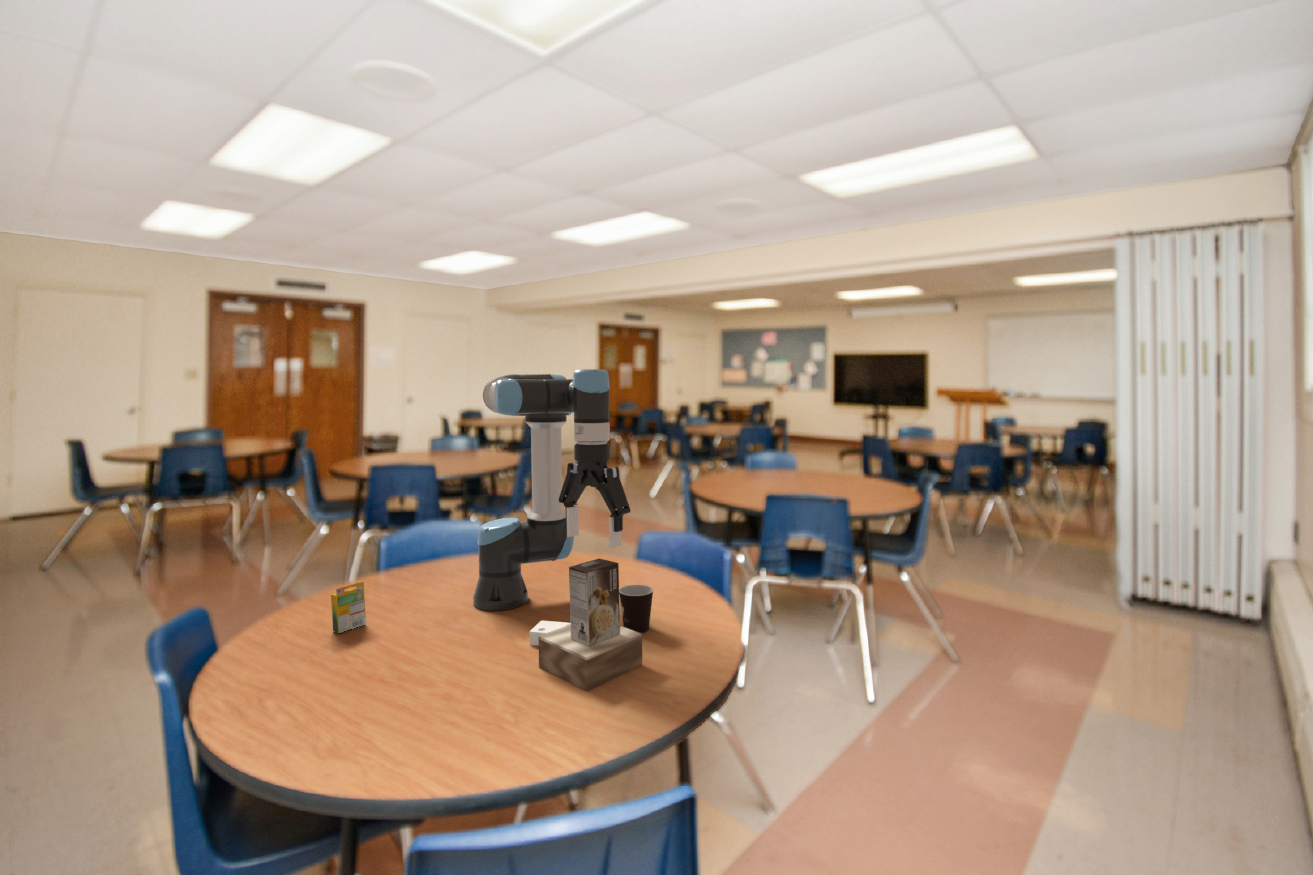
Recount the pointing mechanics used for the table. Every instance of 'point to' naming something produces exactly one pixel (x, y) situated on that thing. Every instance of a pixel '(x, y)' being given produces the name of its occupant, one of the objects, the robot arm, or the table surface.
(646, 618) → the coffee mug
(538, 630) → the bracket
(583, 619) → the coffee box
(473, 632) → the table surface
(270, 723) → the table surface
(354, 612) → the crayon box
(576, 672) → the riser block
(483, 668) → the table surface
